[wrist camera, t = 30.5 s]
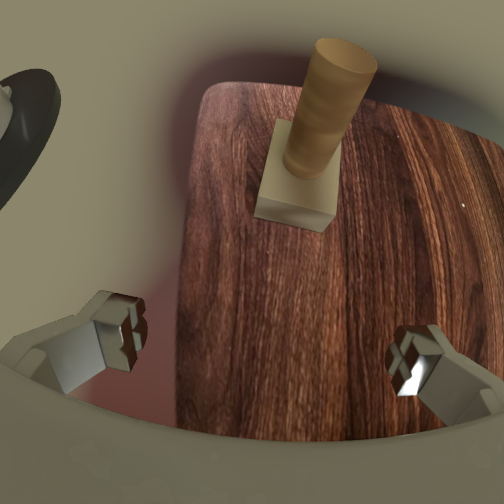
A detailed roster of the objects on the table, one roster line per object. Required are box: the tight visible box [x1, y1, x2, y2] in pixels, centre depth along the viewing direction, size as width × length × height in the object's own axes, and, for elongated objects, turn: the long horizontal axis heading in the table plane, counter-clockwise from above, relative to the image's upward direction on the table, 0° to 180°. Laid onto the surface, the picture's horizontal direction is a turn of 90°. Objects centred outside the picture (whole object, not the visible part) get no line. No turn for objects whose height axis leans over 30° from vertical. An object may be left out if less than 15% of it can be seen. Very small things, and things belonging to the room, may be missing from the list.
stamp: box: [254, 38, 377, 233], centre depth 16 cm, size 5×7×12 cm
